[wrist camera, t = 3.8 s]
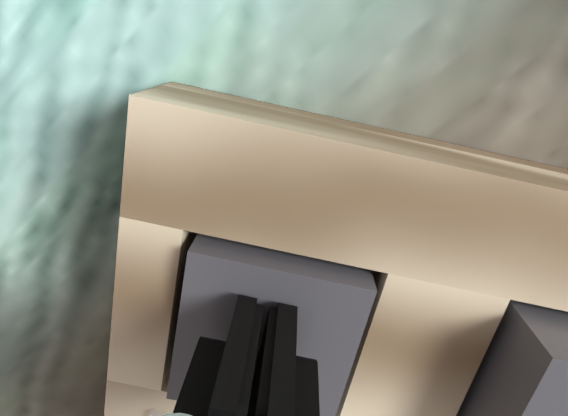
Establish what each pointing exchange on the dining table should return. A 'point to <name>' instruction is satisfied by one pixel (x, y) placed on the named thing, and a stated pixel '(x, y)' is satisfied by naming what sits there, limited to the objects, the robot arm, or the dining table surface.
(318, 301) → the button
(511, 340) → the button middle
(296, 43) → the dining table surface
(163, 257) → the button board
